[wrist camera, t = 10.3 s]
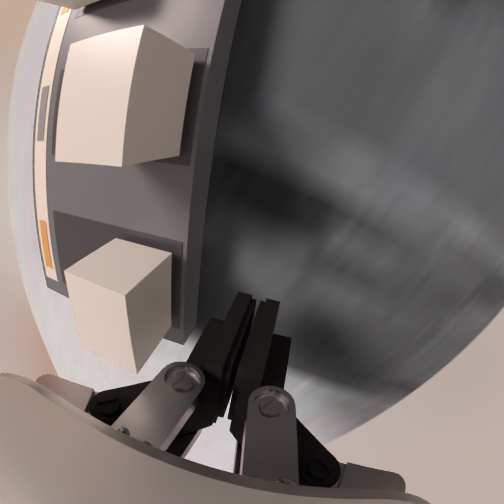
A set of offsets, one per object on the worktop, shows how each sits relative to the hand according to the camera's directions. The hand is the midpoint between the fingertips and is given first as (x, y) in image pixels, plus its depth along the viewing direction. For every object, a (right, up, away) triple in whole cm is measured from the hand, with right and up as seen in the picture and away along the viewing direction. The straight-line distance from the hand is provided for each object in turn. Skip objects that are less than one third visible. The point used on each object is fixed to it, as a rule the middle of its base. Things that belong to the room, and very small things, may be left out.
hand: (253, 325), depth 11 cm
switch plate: (-7, +10, +1) cm, 12 cm away
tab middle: (-4, +9, -2) cm, 10 cm away
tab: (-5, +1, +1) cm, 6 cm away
